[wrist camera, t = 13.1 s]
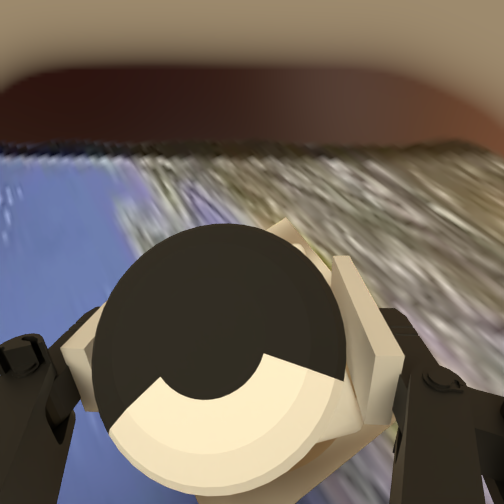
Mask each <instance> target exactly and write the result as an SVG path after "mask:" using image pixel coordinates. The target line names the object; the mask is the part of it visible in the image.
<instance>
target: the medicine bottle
mask: <svg viewBox="0 0 504 504" xmlns="http://www.w3.org/2000/svg"><path fill="white" fill-rule="evenodd" d="M91 362H92V383H93V390H94V396H95V401H96V404H97V407H98V411H99V414H100V417H101V419H102V421H103V423H104V426H105V428H106V430H107V432H108V434H109V436H110V437H111V439H112V440H113V442H114V443H115V445H116V446H117V448H118V449H119V451H120V452H121V453H122V454H123V455H124V456H125V457H126V458H127V459H128V460H129V462H130V463H131V464H132V465H133V466H135V467H136V468H137V469H138V470H140V471H141V472H142V473H144V474H145V475H146V476H147V477H149V478H151V479H152V480H154V481H156V482H158V483H160V484H162V485H164V486H166V487H168V488H171V489H174V490H177V491H180V492H183V493H187V494H194V495H201V496H225V495H232V494H237V493H241V492H246V491H250V490H252V489H255V488H257V487H259V486H262V485H264V484H267V483H269V482H271V481H272V480H274V479H276V478H277V477H279V476H281V475H282V474H284V473H285V472H287V471H288V470H290V469H291V468H292V467H293V466H294V465H295V464H296V463H298V462H299V461H300V460H301V459H302V458H303V457H304V456H305V455H306V454H307V453H308V452H309V451H310V449H311V448H312V447H313V446H314V445H315V443H319V442H322V441H326V440H330V439H334V438H337V437H341V436H345V435H349V434H352V433H356V432H357V431H359V430H361V428H362V425H363V420H362V415H361V412H360V409H359V407H358V404H357V401H356V398H355V395H354V392H353V389H352V386H351V383H350V380H349V377H348V375H347V372H346V337H345V330H344V323H343V319H342V316H341V313H340V309H339V306H338V303H337V301H336V299H335V296H334V294H333V292H332V290H331V288H330V286H329V284H328V283H327V281H326V279H325V278H324V276H323V275H322V273H321V272H320V271H319V270H318V268H317V267H316V266H315V265H314V263H313V262H312V261H311V260H310V259H309V258H308V257H307V255H306V252H305V250H304V248H303V247H302V245H300V244H291V243H289V242H288V241H286V240H284V239H283V238H281V237H279V236H277V235H275V234H273V233H270V232H268V231H265V230H262V229H259V228H256V227H251V226H246V225H240V224H211V225H205V226H199V227H195V228H192V229H188V230H185V231H182V232H180V233H178V234H175V235H173V236H171V237H169V238H167V239H165V240H163V241H162V242H160V243H158V244H157V245H155V246H154V247H152V248H151V249H150V250H148V251H147V252H146V253H144V254H143V255H142V256H141V257H140V258H139V259H138V260H137V261H136V262H135V263H134V264H133V265H131V267H130V268H129V269H128V270H127V271H126V273H125V274H124V275H123V276H122V277H121V279H120V280H119V282H118V283H117V285H116V286H115V288H114V289H113V291H112V292H111V294H110V296H109V298H108V300H107V302H106V304H105V306H104V308H103V311H102V314H101V316H100V319H99V322H98V325H97V329H96V333H95V338H94V342H93V351H92V360H91Z"/></svg>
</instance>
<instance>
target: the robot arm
mask: <svg viewBox="0 0 504 504" xmlns="http://www.w3.org/2000/svg"><path fill="white" fill-rule="evenodd" d="M331 290H332V292H333V294H334V296H335V299H336V301H337V303H338V306H339V309H340V313H341V316H342V319H343V323H344V330H345V337H346V362H347V366H348V369H349V372H350V376H351V379H352V383H353V386H354V390H355V393H356V396H357V400H358V403H359V407H360V410H361V414H362V417H363V420H364V424H371V425H390V424H391V419H392V415H393V414H394V416H395V419H396V421H397V423H398V426H399V427H398V431H397V436H396V440H395V444H394V449H393V453H395V454H394V464H393V473H392V483H391V492H390V502H389V504H485V497H484V490H483V483H482V477H481V475H483V478H484V480H485V483H486V485H487V488H488V490H489V493H490V495H491V498H492V500H493V502H494V504H504V397H502V396H498V395H494V394H491V393H487V392H483V391H479V390H476V389H473V388H470V387H467V385H466V383H465V382H464V381H463V380H462V379H461V378H460V377H459V376H458V375H457V374H455V373H454V372H452V371H451V370H449V369H447V368H444V367H442V366H440V365H439V364H438V363H437V361H436V360H435V358H434V357H433V355H432V354H431V353H430V351H429V350H428V348H427V347H426V345H425V344H424V342H423V341H422V339H421V338H420V336H418V333H417V332H416V330H415V329H414V328H413V326H412V324H411V323H410V322H409V320H408V319H407V317H406V316H405V315H403V314H402V313H401V312H399V311H398V310H397V309H395V308H378V307H377V305H376V303H375V301H374V300H373V298H372V296H371V294H370V292H369V291H368V289H367V287H366V285H365V283H364V282H363V280H362V278H361V276H360V274H359V273H358V271H357V269H356V267H355V265H354V264H353V262H352V260H351V258H350V256H333V262H332V276H331ZM106 302H107V301H106ZM106 302H105V303H104V304H103V305H102V306H101V307H95V308H94V309H92V310H90V311H89V312H87V313H85V314H84V315H83V316H82V317H81V318H80V319H79V320H78V321H77V322H76V324H74V325H73V326H71V327H70V328H69V331H66V332H65V333H64V334H63V335H62V336H61V337H60V338H59V339H58V340H57V341H56V342H55V343H54V344H53V345H52V346H51V347H50V348H49V349H47V346H46V344H45V342H44V339H43V337H42V336H41V335H40V334H25V335H21V336H18V337H15V338H12V339H10V340H8V341H6V342H4V343H3V344H1V345H0V375H1V376H0V504H57V499H58V495H59V491H60V486H61V482H62V477H63V473H64V469H65V464H66V460H67V456H68V451H69V447H70V442H71V438H72V434H73V429H74V425H75V420H76V419H75V413H74V410H73V409H74V407H75V406H76V404H77V403H78V402H79V400H80V399H81V402H82V404H83V407H84V409H85V411H89V412H99V411H98V407H97V404H96V401H95V396H94V390H93V383H92V362H91V360H92V351H93V342H94V338H95V333H96V329H97V325H98V322H99V319H100V316H101V314H102V311H103V308H104V306H105V304H106Z"/></svg>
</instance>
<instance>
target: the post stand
mask: <svg viewBox="0 0 504 504" xmlns="http://www.w3.org/2000/svg"><path fill="white" fill-rule="evenodd" d="M266 231H268V232H270V233H273V234H275V235H277V236H279V237H281V238H283V239H284V240H286V241H288V242H289V243H291V244H300V245H302V247H303V248H304V250H305V252H306V255H307V257H308V258H309V259H310V260H311V261H312V262H313V263H314V265H315V266H316V267H317V268H318V270H319V271H320V272H321V273H322V275H323V276H324V278H325V279H326V281H327V283H328V284H329V286H330V288H331V276H332V272H331V271H330V270H329V269H328V267H327V266H326V265H325V264H324V263H323V261H322V260H321V259H320V258H319V257H318V255H317V254H316V253H315V252H314V250H313V249H312V248H311V247H310V246H309V244H308V243H307V242H306V241H305V240H304V238H303V237H302V236H301V235H300V234H299V232H298V231H297V230H296V229H295V228H294V226H293V225H292V224H291V223H290V222H289V220H288V219H287V218H284V219H283V220H281V221H279V222H278V223H276V224H275V225H273V226H272V227H270V228H269V229H267V230H266ZM346 372H347V375H348V377H349V380H350V383H351V386H352V389H353V392H354V395H355V398H356V401H357V404H358V407H359V403H358V400H357V396H356V393H355V390H354V386H353V383H352V379H351V376H350V372H349V369H348V366H347V362H346ZM359 409H360V407H359ZM360 412H361V410H360ZM361 415H362V414H361ZM362 420H363V417H362ZM395 422H396V419H395V416H394V414H393V415H392V419H391V424H390V425H371V424H364V420H363V425H362V428H361V430H359V431H357V432H356V433H352V434H349V435H345V436H341V437H337V438H334V439H330V440H326V441H322V442H319V443H315V445H314V446H313V447H312V448H311V449H310V451H309V452H308V453H307V454H306V455H305V456H304V457H303V458H302V459H301V460H300V461H299V462H298V463H296V464H295V465H294V466H293V467H292V468H291V469H290V470H288V471H287V472H285V473H284V474H282V475H281V476H279V477H277V478H276V479H274V480H272V481H271V482H269V483H267V484H264V485H262V486H259V487H257V488H255V489H252V490H250V491H246V492H241V493H237V494H232V495H225V496H201V495H195V497H196V499H197V501H198V503H199V504H295V503H296V502H297V501H298V500H300V499H301V498H302V497H303V496H304V495H306V494H307V493H308V492H309V491H311V490H312V489H313V488H314V487H316V486H317V485H318V484H319V483H321V482H322V481H323V480H324V479H325V478H327V477H328V476H329V475H330V474H332V473H333V472H334V471H335V470H337V469H338V468H339V467H340V466H341V465H343V464H344V463H345V462H346V461H348V460H349V459H350V458H351V457H353V456H354V455H355V454H356V453H358V452H359V451H360V450H361V449H362V448H364V447H365V446H366V445H367V444H369V443H370V442H371V441H372V440H374V439H375V438H376V437H377V436H378V435H380V434H381V433H382V432H383V431H385V430H386V429H387V428H388V427H390V426H391V425H392V424H393V423H395Z"/></svg>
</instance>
